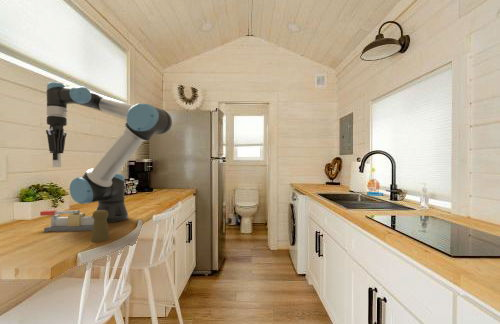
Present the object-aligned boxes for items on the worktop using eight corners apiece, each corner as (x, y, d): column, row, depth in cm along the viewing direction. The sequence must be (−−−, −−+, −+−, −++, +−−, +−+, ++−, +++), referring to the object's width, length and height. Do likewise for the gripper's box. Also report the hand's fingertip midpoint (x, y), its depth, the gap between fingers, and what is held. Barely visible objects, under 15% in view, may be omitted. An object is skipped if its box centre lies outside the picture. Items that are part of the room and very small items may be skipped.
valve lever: (78, 214, 115) (78, 210, 115) (40, 215, 111) (40, 211, 111) (80, 212, 117) (80, 209, 117) (43, 214, 114) (43, 210, 114)
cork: (96, 243, 95) (96, 212, 95) (87, 240, 98) (87, 210, 98) (112, 238, 100) (113, 209, 100) (103, 236, 103) (104, 208, 103)
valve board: (105, 224, 122) (105, 211, 122) (96, 230, 112) (96, 215, 112) (57, 226, 119) (57, 212, 119) (44, 231, 109) (44, 217, 109)
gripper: (58, 114, 118) (57, 167, 118) (72, 119, 130) (72, 166, 130) (39, 114, 116) (39, 167, 116) (55, 118, 129) (55, 166, 129)
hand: (56, 167), depth 123 cm, fingers closed
